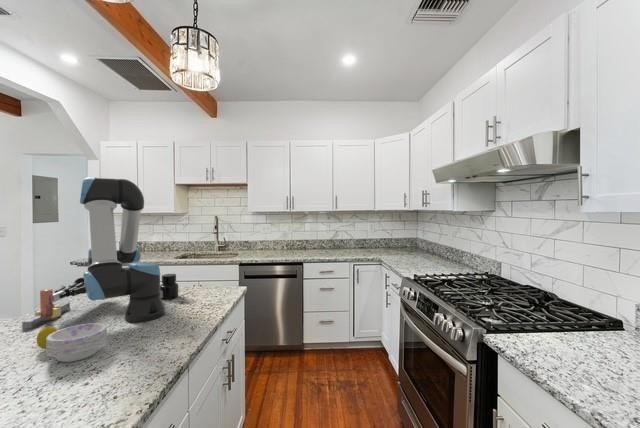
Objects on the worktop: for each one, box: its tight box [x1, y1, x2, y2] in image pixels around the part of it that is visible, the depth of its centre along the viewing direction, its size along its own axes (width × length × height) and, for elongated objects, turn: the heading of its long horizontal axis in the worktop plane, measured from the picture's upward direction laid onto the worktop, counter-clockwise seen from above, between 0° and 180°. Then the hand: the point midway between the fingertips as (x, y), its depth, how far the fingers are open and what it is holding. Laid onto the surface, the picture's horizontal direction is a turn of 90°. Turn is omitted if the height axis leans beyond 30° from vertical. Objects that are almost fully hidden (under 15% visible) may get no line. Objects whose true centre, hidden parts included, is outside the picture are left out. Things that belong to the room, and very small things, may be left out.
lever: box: [39, 288, 55, 320], centre depth 123 cm, size 20×4×11 cm, turn 41°
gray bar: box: [21, 302, 71, 331], centre depth 130 cm, size 6×24×4 cm, turn 11°
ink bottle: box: [160, 273, 179, 301], centre depth 159 cm, size 10×9×12 cm
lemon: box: [36, 325, 59, 350], centre depth 101 cm, size 6×6×8 cm
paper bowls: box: [45, 322, 108, 363], centre depth 97 cm, size 15×15×8 cm
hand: (52, 298), depth 119 cm, fingers closed
